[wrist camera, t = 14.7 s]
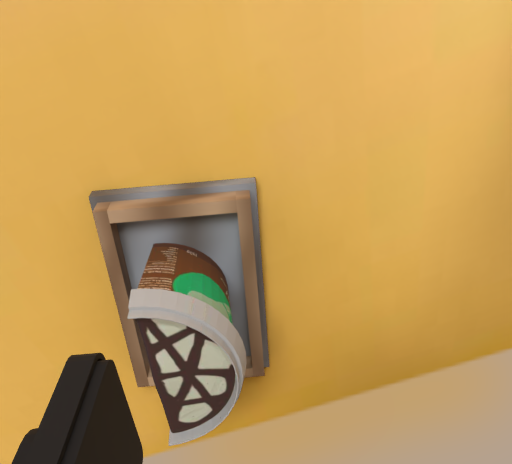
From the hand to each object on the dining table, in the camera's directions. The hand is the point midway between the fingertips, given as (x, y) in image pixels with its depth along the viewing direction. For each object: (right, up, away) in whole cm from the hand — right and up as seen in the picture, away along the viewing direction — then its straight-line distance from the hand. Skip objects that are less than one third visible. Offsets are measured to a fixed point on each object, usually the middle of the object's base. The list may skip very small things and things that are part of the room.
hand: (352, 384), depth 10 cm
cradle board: (-7, -1, +31) cm, 32 cm away
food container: (-6, -1, +30) cm, 30 cm away
